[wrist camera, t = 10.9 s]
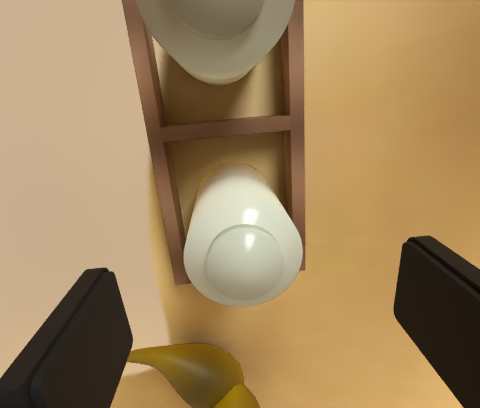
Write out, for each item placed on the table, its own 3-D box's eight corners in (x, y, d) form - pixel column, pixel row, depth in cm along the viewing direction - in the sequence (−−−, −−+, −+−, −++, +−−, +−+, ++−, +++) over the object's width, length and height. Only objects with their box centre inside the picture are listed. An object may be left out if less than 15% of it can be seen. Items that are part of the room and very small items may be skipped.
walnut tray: (119, -67, 15) (-10, -284, 6) (291, -78, 15) (381, -299, 7) (179, 268, 21) (155, 373, 13) (297, 255, 22) (346, 349, 14)
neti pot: (260, 406, 27) (273, 495, 21) (123, 331, 23) (88, 414, 17) (292, 378, 26) (315, 463, 20) (154, 295, 22) (130, 369, 16)
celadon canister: (191, 166, 19) (171, 215, 11) (269, 159, 19) (308, 201, 11) (201, 237, 21) (190, 325, 12) (272, 229, 21) (308, 311, 13)
